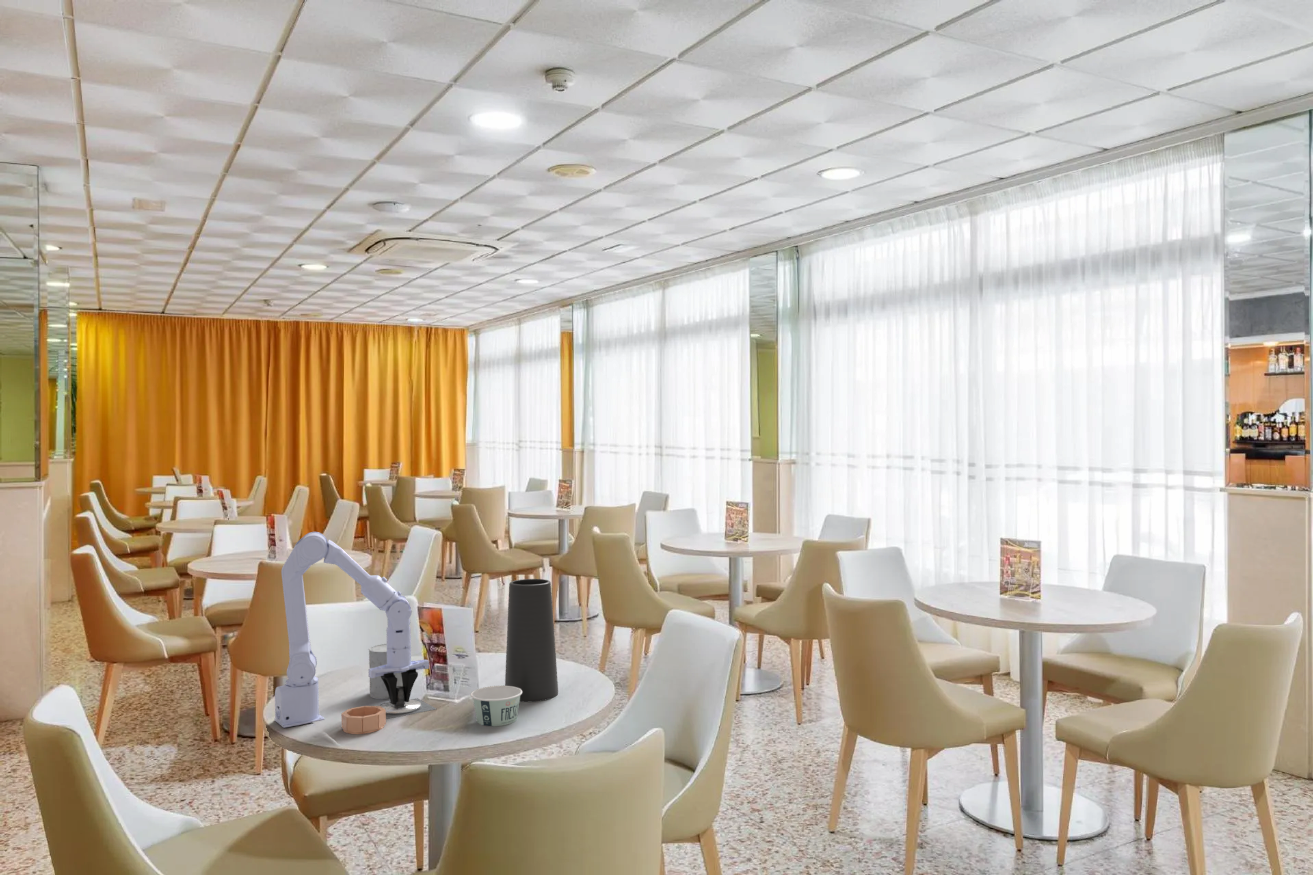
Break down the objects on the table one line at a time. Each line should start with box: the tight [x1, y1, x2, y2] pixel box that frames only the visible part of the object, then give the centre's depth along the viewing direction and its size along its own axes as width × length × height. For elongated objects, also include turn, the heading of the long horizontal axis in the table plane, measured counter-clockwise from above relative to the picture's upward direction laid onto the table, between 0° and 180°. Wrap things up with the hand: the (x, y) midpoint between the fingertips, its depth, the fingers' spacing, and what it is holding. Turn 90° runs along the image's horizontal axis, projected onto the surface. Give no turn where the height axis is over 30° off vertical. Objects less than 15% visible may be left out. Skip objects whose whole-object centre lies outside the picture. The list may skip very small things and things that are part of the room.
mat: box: [377, 697, 437, 720], centre depth 228 cm, size 14×12×1 cm
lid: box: [379, 686, 421, 715], centre depth 228 cm, size 10×10×5 cm
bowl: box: [340, 705, 387, 735], centre depth 214 cm, size 9×9×4 cm
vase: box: [504, 578, 559, 703], centre depth 241 cm, size 14×14×29 cm
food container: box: [470, 685, 522, 727], centre depth 220 cm, size 12×12×6 cm
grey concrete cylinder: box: [368, 643, 403, 700], centre depth 242 cm, size 10×10×12 cm
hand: (399, 702), depth 228 cm, fingers closed on lid, 3 cm apart
